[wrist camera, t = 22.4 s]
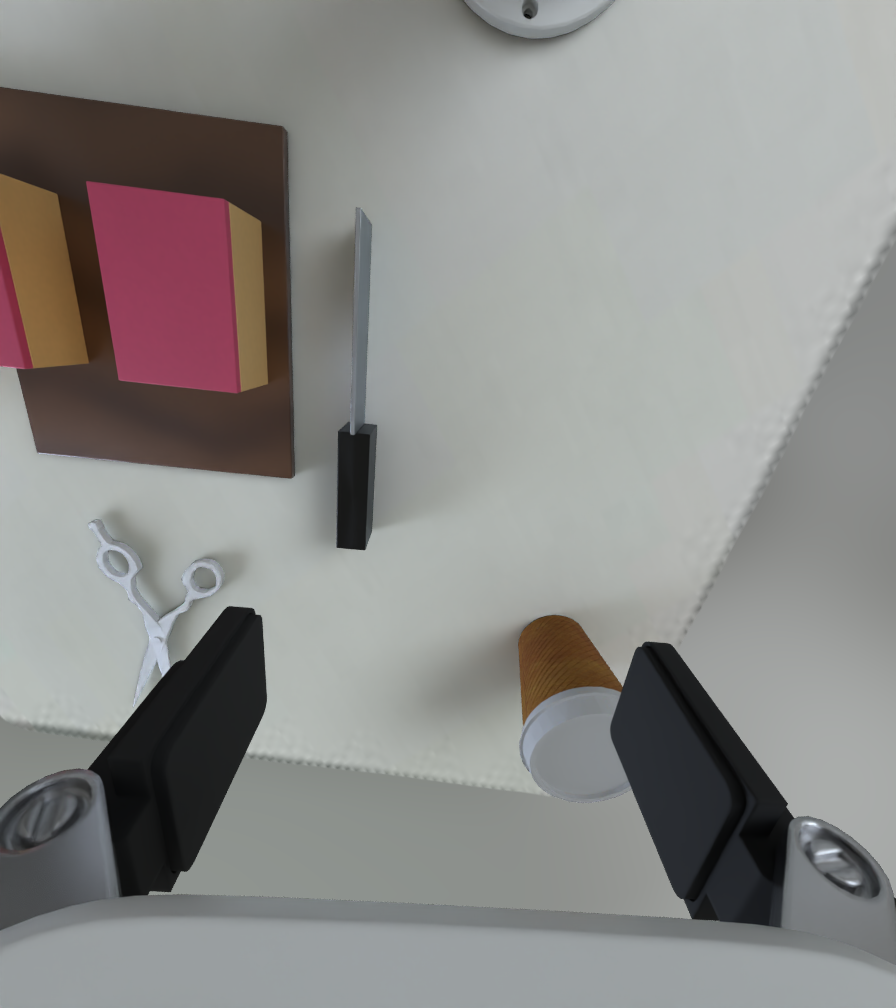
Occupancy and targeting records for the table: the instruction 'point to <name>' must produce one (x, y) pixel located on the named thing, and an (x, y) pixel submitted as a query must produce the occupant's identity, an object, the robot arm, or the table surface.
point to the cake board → (95, 386)
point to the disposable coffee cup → (568, 713)
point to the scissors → (154, 624)
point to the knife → (357, 414)
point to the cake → (181, 288)
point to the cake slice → (36, 282)
